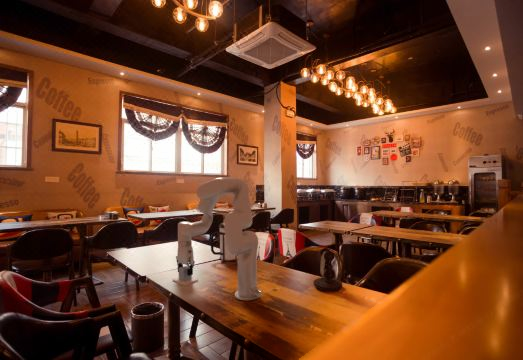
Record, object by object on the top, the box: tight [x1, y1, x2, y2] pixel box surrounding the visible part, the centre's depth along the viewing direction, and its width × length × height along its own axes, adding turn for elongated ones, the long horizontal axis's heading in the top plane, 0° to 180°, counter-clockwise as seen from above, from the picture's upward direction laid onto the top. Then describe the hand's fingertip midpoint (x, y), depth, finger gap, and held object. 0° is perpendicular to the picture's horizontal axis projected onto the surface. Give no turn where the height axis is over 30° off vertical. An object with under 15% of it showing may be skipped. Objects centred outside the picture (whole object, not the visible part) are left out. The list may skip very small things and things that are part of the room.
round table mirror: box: [313, 247, 343, 292], centre depth 148 cm, size 15×15×20 cm
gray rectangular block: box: [178, 265, 192, 281], centre depth 161 cm, size 5×5×7 cm
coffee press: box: [210, 221, 238, 264], centre depth 202 cm, size 17×16×30 cm
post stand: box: [172, 276, 199, 286], centre depth 161 cm, size 12×9×6 cm
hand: (185, 273), depth 161 cm, fingers open, 9 cm apart
